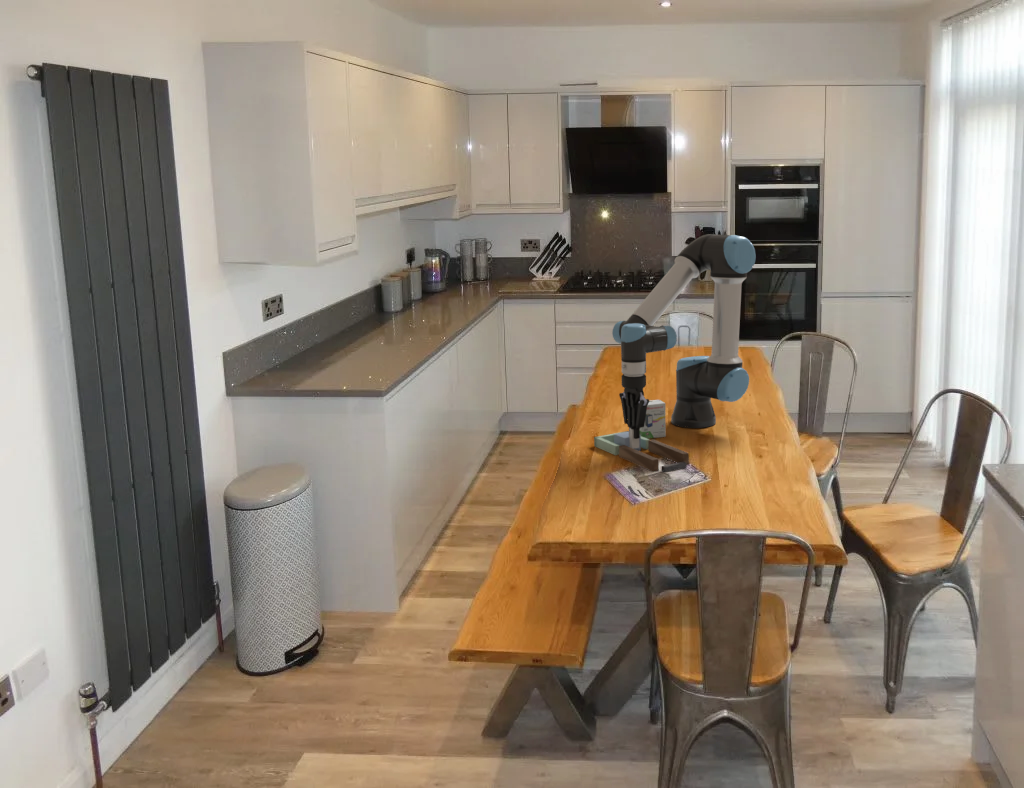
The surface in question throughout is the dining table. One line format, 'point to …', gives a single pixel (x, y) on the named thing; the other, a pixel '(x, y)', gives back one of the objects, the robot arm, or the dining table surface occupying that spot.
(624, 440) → the block
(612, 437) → the frame
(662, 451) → the channel
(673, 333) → the robot arm
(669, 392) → the dining table surface
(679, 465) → the bar
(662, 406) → the ink box
